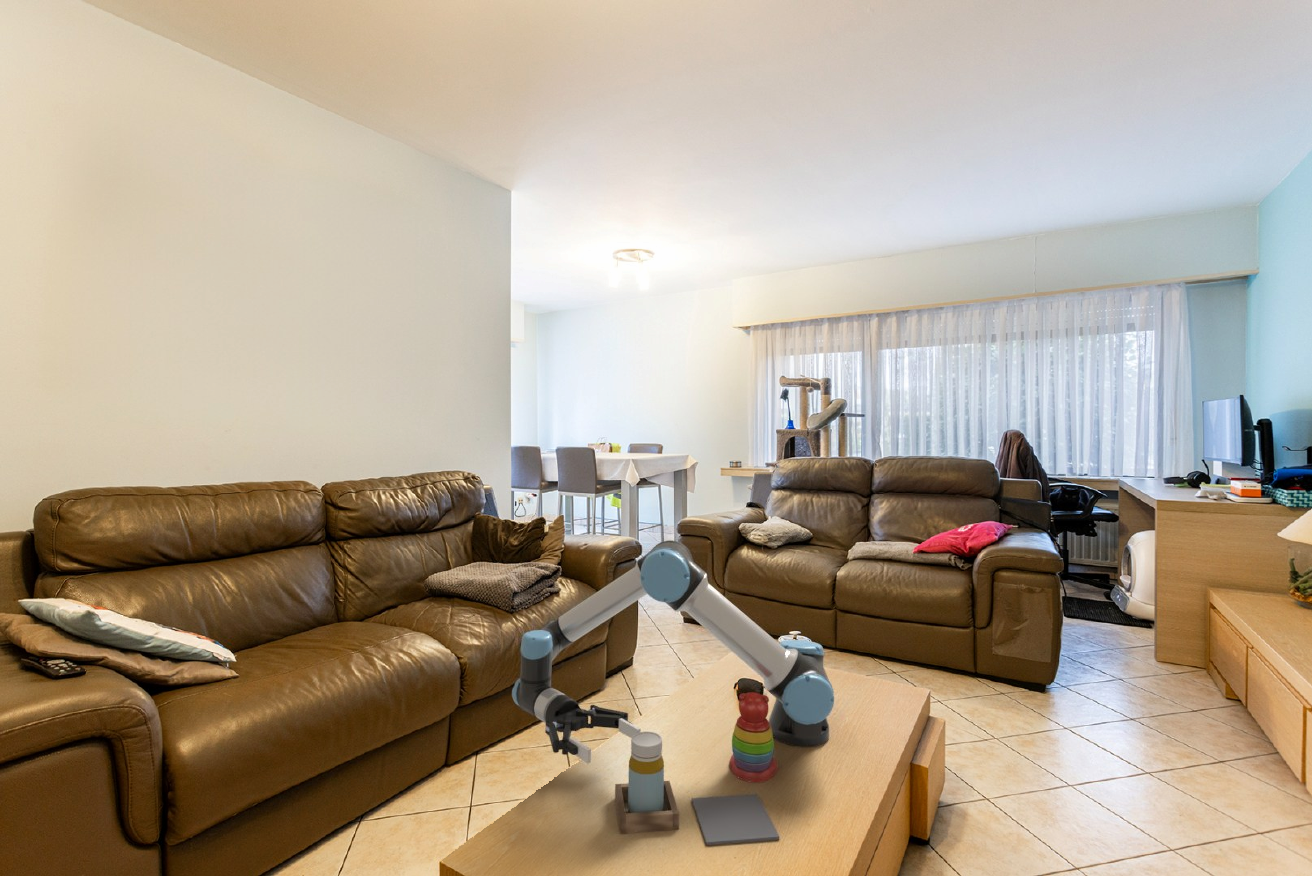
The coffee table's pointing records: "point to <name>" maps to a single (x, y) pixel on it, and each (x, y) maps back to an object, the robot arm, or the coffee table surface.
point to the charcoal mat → (734, 819)
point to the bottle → (646, 773)
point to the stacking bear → (753, 740)
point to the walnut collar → (646, 813)
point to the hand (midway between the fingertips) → (615, 745)
